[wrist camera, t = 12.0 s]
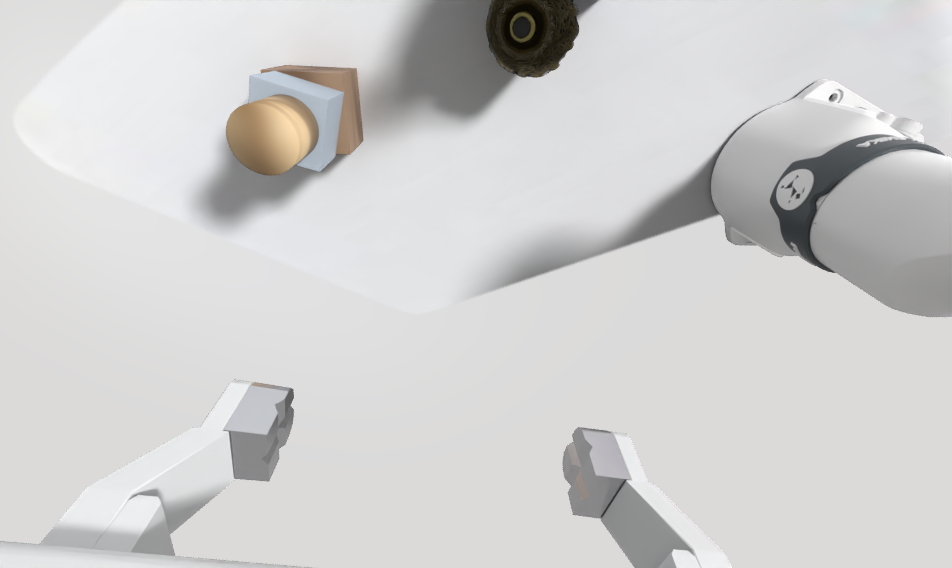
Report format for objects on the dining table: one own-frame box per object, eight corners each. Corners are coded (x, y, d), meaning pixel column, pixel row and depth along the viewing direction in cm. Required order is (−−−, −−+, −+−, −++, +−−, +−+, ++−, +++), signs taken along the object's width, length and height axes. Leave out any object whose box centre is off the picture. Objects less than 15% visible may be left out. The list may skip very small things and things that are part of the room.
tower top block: (343, 92, 38) (328, 100, 34) (335, 157, 41) (319, 171, 36) (274, 70, 37) (249, 75, 33) (270, 138, 40) (247, 151, 35)
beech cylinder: (317, 98, 34) (295, 108, 29) (320, 161, 36) (301, 179, 32) (251, 90, 33) (220, 98, 29) (260, 154, 36) (232, 171, 31)
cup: (521, 87, 43) (532, 97, 36) (467, 32, 41) (467, 32, 34) (576, 23, 41) (598, 21, 34) (521, -41, 38) (533, -57, 31)
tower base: (356, 68, 42) (341, 73, 37) (363, 140, 46) (350, 154, 41) (285, 65, 42) (260, 69, 37) (297, 137, 46) (276, 151, 40)
